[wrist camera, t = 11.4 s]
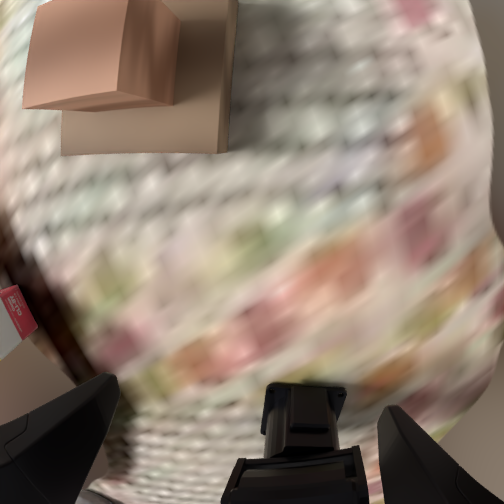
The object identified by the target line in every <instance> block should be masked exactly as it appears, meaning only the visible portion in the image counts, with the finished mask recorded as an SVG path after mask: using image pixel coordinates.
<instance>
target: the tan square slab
mask: <svg viewBox="0 0 504 504" xmlns="http://www.w3.org/2000/svg"><path fill="white" fill-rule="evenodd" d="M161 1H162V2H163V3H164V4H165V5H166V6H167V7H168V8H169V9H170V10H171V11H172V12H173V13H174V14H175V15H176V16H177V17H178V19H179V20H180V21H181V24H180V33H179V42H178V51H177V62H176V73H175V86H174V101H173V106H159V107H143V108H130V109H119V110H109V111H101V112H83V111H68V110H62V122H61V156H73V155H89V154H112V153H205V154H220V153H226V152H227V148H228V131H229V115H230V100H231V86H232V72H233V59H234V47H235V35H236V24H237V13H238V0H161Z"/></svg>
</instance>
